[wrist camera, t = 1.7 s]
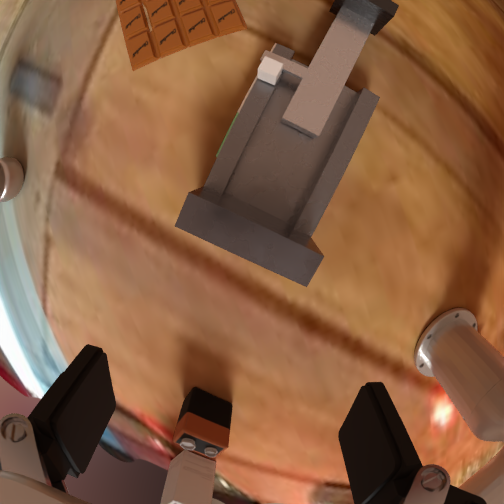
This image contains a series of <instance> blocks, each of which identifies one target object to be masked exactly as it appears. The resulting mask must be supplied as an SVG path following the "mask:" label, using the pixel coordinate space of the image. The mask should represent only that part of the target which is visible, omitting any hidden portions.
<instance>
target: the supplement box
mask: <svg viewBox="0 0 504 504" xmlns="http://www.w3.org/2000/svg"><path fill="white" fill-rule="evenodd" d="M215 468H216V462H215V461H212V460H210V459H207V458H205V457H202V456H199V455H197V454H194V453H192V452H190V451H187V450H183V451H182V452H181V453H180V454H179V455H177V456H176V457H175V458H174V459H173V460H172V461H171V462H170V466H169V470H168V475H167V479H166V483H165V487H164V491H163V495H162V500H161V504H211V502H212V494H213V486H214V478H215Z"/></svg>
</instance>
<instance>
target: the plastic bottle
mask: <svg viewBox="0 0 504 504" xmlns="http://www.w3.org/2000/svg"><path fill="white" fill-rule="evenodd" d="M23 181H24V172H23V168H22V165H21V164H20V163H19V161H18V160H17V159H15V158H11V157H3V158H0V202H7V201H9V200H10V199H12V198H14V197H16V196H17V194H18V193H19V191H20V190H21V188H22V185H23Z"/></svg>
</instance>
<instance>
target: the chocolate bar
mask: <svg viewBox="0 0 504 504" xmlns="http://www.w3.org/2000/svg"><path fill="white" fill-rule="evenodd" d="M142 3H143V5H144V6H145V7H146V9H147V12H148V16H149V19H150V23H151V26H152V30H153V31H151V32H150V30H149V27H148V23H147V19H146V16H145V12H144V9H143V5H142ZM116 4H117V8H118V13H119V17H120V22H121V26H122V30H123V34H124V39H125V43H126V47H127V50H128V54H129V58H130V62H131V66H132V70H133V71H134V70H136V69H138V68H141V67H143V66H145V65H147V64H149V63H151V62H154V61H156V60H158V59H160V58H163V57H165V56H168V55H170V54H173V53H175V52H178V51H180V50H183V49H185V48H187V47H191V46H194V45H196V44H199V43H202V42H205V41H208V40H211V39H214V38H217V37H220V36H223V35H227V34H230V33H234V32H237V31H241V30H244V29H248V28H247V26H246V24H245V21H244V19H243V16H242V14H241V12H240V10H239V7H238V5H237V3H236V1H235V0H116Z"/></svg>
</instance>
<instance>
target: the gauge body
mask: <svg viewBox="0 0 504 504" xmlns="http://www.w3.org/2000/svg"><path fill="white" fill-rule="evenodd" d="M270 52H272V53H274V54H277V55H279V56H281V57H284V58H286V59H288V60H290V61H293V62H295V63H297V64H299V65H301V66H303V67H305V68H308V66H306V65H304V64H302V63H300V62H298V61H295V60H293V59H292V58H293V55H294V52H295V51H293V50H291V49H289V48H287V47H284V46H282V45H280V44H276V43H275V44H274V46H273V48H272V49H271V51H270ZM300 82H301V80H300V79H298V78H296V77H294V76H292V75H290V74H287V73H285V72H283V71H282V72H281V74H280V76H279V78H278V80H277V82H276V84H275V85H272V84H270V83H268V82H266V81H263V80H261V79H259V78H258V74H257V76H256V78H255V80H254V81H253V83H252V85H251V87H250V89H249V91H248V93H247V94H246V96H245V98H244V100H243V102H242V104H241V106H240V108H239V110H238V112H237V114H236V116H235V118H234V120H233V122H232V124H231V126H230V128H229V130H228V132H227V134H226V136H225V138H224V140H223V142H222V144H221V146H220V148H219V150H218V152H217V154H216V157H217V159H216V161H215V163H214V165H213V167H212V169H211V172H210V174H209V176H208V178H207V180H206V183H205V185H204V187H201V188H198V189H196V190H193V191H191V192H189V193H188V195H187V198H186V200H185V202H184V205H183V207H182V210H181V212H180V214H179V217H178V219H177V222H176V224H175V227H178V228H180V229H182V230H184V231H186V232H188V233H190V234H193V235H195V236H197V237H199V238H201V239H203V240H205V241H208V242H210V243H212V244H214V245H216V246H218V247H221V248H223V249H225V250H227V251H229V252H231V253H234V254H236V255H238V256H240V257H242V258H244V259H247V260H249V261H251V262H253V263H255V264H257V265H260V266H262V267H264V268H266V269H268V270H270V271H273V272H275V273H277V274H279V275H281V276H284V277H286V278H288V279H290V280H292V281H295V282H297V283H299V284H301V285H303V286H306V287H307V286H308V284H309V282H310V280H311V279H312V277H313V275H314V273H315V272H316V270H317V268H318V266H319V265H320V263H321V261H322V259H323V257H324V255H323V254H322V253H321V251H320V250H319V248H318V247H317V245H316V244H315V243H314V241H313V240H312V238H311V236H312V234H313V232H314V231H315V229H316V227H317V225H318V223H319V221H320V219H321V217H322V215H323V213H324V211H325V210H326V208H327V206H328V204H329V202H330V200H331V198H332V196H333V194H334V192H335V190H336V188H337V186H338V184H339V182H340V180H341V178H342V176H343V174H344V172H345V170H346V168H347V166H348V164H349V162H350V160H351V158H352V156H353V154H354V152H355V150H356V148H357V145H358V143H359V141H360V139H361V137H362V135H363V133H364V131H365V129H366V127H367V124H368V122H369V120H370V118H371V116H372V114H373V111H374V109H375V107H376V105H377V103H378V100H379V98H380V97H379V96H377V95H375V94H374V93H372V92H371V91H369V90H367V89H366V88H362V89H361V90H359V91H358V92H355V91H353V90H352V89H350V88H348V87H346V86H345V85H344V87H343V89H342V91H341V93H340V95H339V97H338V99H337V101H336V103H335V105H334V107H333V109H332V111H331V113H330V115H329V117H328V119H327V121H326V123H325V125H324V127H323V129H322V131H321V133H320V135H319V136H318V137H316V138H312V137H310V136H309V135H307V134H305V133H303V132H301V131H299V130H297V129H295V128H293V127H291V126H289V125H287V124H285V123H283V122H280V121H281V119H282V117H283V115H284V113H285V111H286V109H287V107H288V105H289V103H290V101H291V99H292V98H293V96H294V94H295V92H296V90H297V88H298V86H299V84H300Z"/></svg>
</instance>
